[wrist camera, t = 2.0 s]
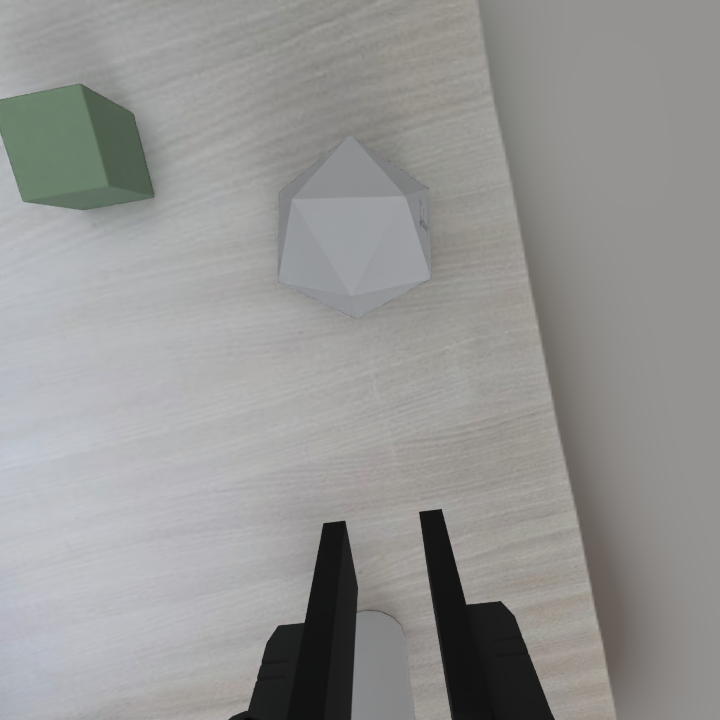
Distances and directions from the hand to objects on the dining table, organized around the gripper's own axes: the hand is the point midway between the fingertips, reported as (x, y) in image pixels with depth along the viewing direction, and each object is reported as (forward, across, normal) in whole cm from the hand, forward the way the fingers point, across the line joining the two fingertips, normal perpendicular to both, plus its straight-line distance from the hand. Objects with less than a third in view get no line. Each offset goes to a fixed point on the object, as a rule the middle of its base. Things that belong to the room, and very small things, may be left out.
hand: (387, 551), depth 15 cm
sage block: (+17, -15, +18) cm, 29 cm away
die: (+17, 0, +11) cm, 20 cm away
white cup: (+17, -4, -21) cm, 27 cm away
